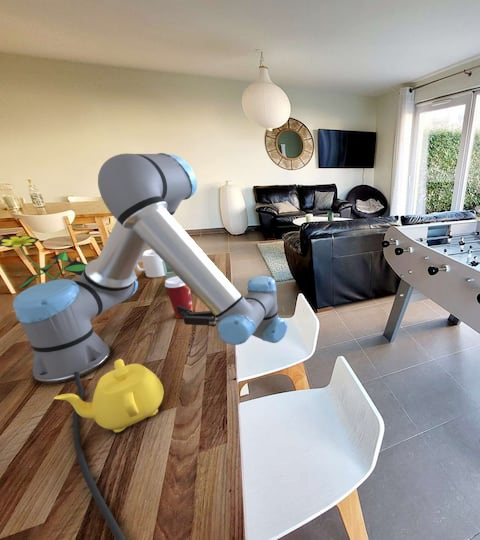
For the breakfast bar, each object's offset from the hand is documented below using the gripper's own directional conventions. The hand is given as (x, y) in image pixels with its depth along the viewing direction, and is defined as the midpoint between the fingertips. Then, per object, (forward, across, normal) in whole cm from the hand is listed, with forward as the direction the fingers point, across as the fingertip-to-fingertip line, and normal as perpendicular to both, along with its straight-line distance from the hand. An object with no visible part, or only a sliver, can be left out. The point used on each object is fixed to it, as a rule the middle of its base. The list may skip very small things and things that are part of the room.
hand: (197, 300), depth 98 cm
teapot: (-20, -34, -8) cm, 41 cm away
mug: (+55, +16, -8) cm, 58 cm away
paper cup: (+10, 0, -8) cm, 13 cm away
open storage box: (+32, +17, -8) cm, 37 cm away
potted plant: (+39, -21, -8) cm, 45 cm away
